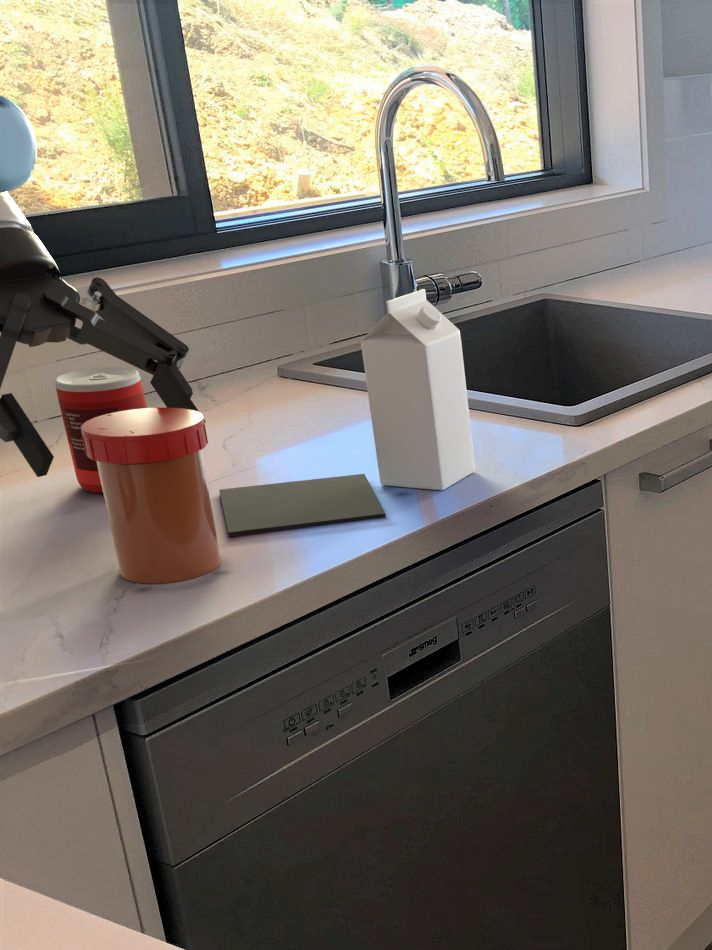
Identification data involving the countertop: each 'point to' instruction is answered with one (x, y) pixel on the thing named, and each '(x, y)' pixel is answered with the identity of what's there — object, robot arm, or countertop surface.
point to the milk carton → (418, 396)
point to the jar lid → (144, 435)
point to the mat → (299, 505)
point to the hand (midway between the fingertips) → (125, 448)
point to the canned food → (94, 409)
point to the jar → (161, 519)
